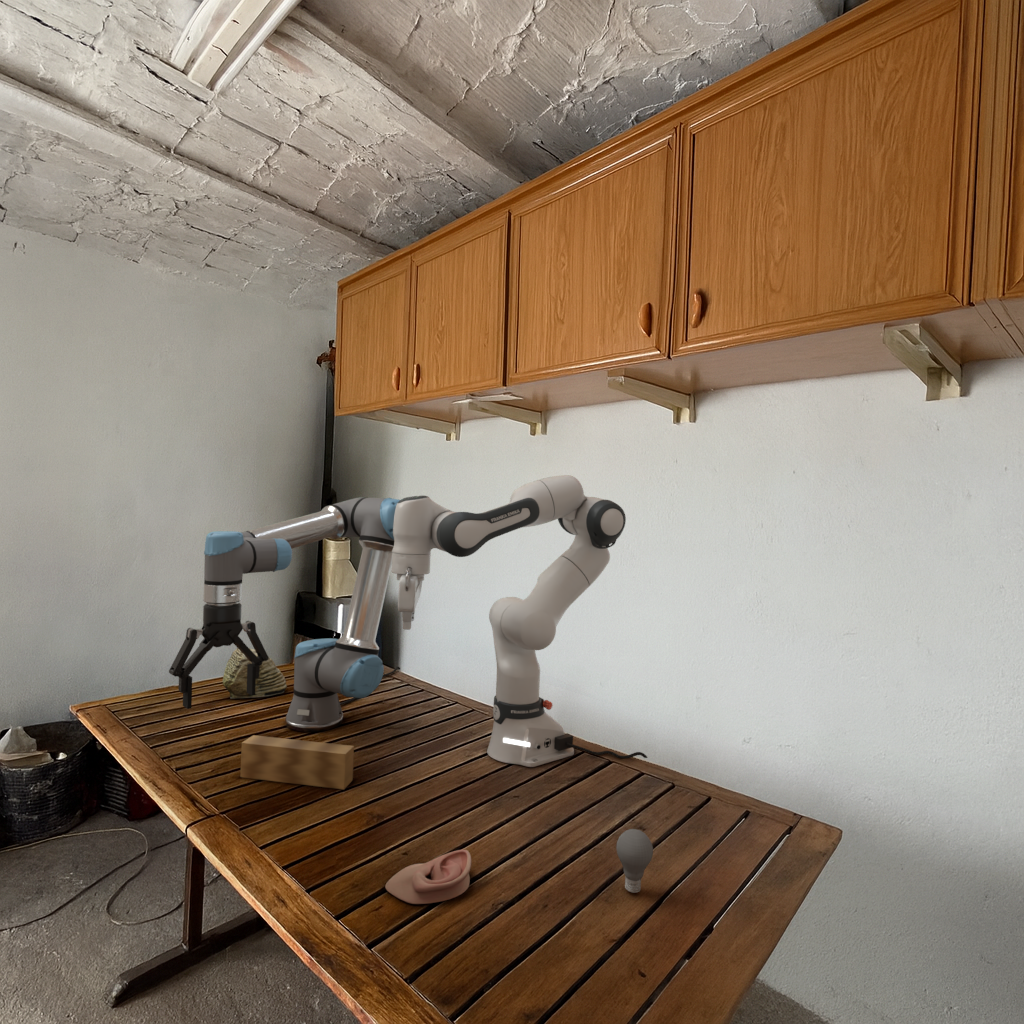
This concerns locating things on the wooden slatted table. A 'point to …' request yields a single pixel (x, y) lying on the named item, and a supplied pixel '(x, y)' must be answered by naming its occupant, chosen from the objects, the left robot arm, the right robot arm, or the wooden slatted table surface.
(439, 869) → the anatomical model
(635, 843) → the light bulb
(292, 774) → the bar
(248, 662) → the fossil
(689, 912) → the wooden slatted table surface
